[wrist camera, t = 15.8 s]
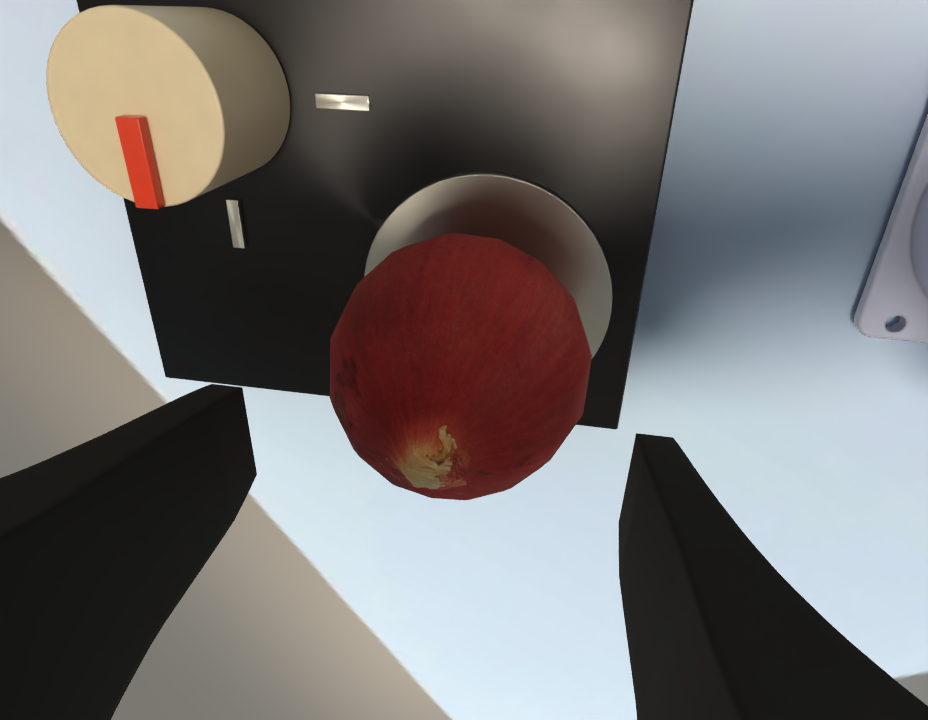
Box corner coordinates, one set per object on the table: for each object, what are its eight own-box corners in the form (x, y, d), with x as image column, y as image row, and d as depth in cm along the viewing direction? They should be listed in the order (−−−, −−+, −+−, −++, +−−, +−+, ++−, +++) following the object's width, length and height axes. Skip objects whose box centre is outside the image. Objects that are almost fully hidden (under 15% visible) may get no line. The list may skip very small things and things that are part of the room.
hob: (692, -78, 15) (712, -96, 13) (613, 388, 21) (617, 433, 19) (99, -85, 17) (24, -101, 15) (188, 342, 23) (145, 378, 21)
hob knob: (128, 5, 16) (7, 3, 12) (281, 8, 15) (196, 6, 12) (163, 169, 18) (66, 205, 14) (299, 177, 17) (231, 216, 14)
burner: (630, 180, 16) (631, 183, 15) (594, 413, 19) (594, 419, 19) (360, 162, 17) (357, 165, 16) (372, 388, 20) (369, 393, 20)
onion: (474, 421, 20) (415, 643, 13) (341, 287, 18) (191, 456, 11) (631, 315, 17) (663, 519, 10) (490, 149, 16) (415, 256, 9)
